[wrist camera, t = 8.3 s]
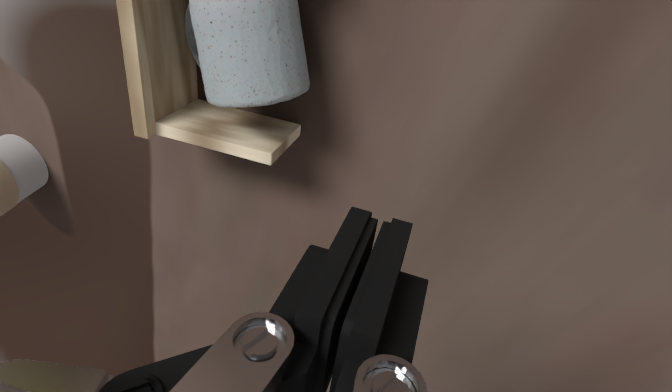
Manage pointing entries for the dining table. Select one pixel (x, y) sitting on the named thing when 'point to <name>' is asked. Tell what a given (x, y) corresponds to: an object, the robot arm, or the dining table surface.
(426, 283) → the robot arm
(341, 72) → the dining table surface
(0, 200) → the coffee cup
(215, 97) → the ceramic mug
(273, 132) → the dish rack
